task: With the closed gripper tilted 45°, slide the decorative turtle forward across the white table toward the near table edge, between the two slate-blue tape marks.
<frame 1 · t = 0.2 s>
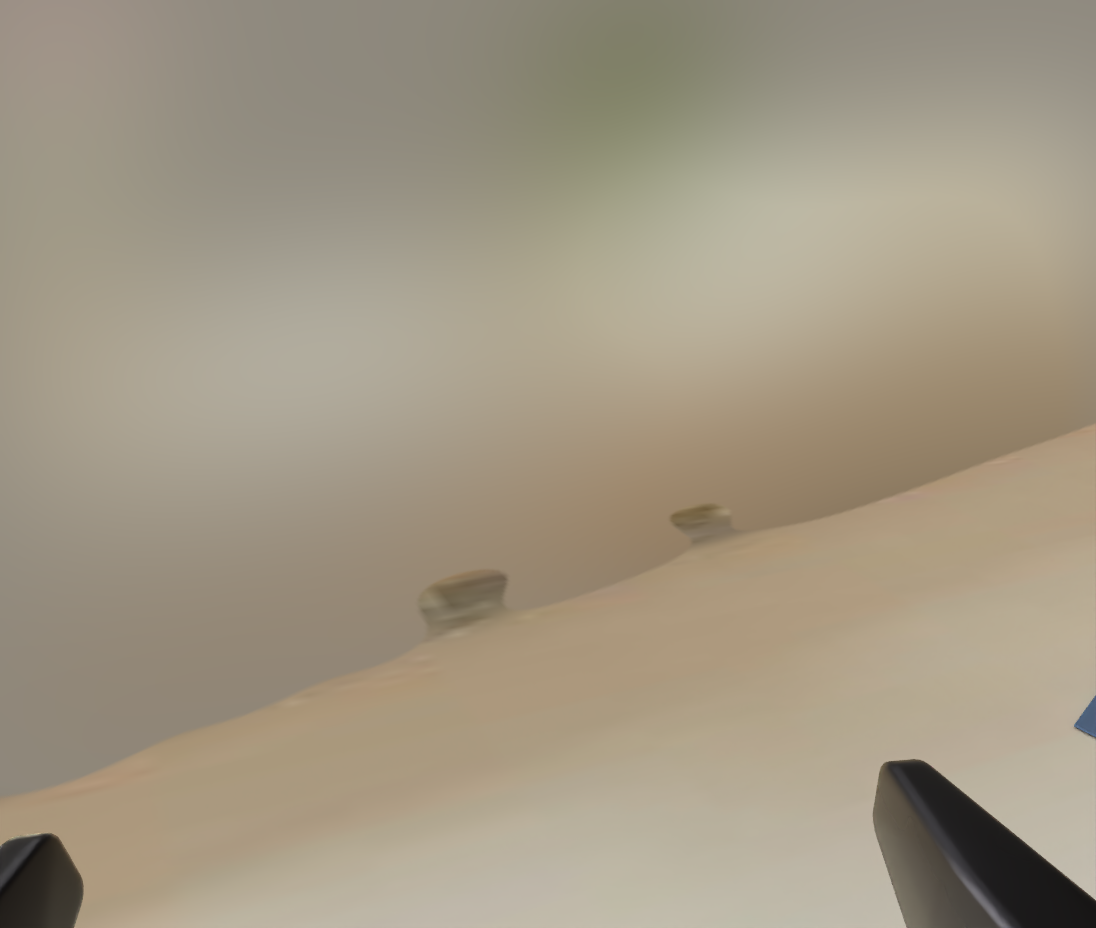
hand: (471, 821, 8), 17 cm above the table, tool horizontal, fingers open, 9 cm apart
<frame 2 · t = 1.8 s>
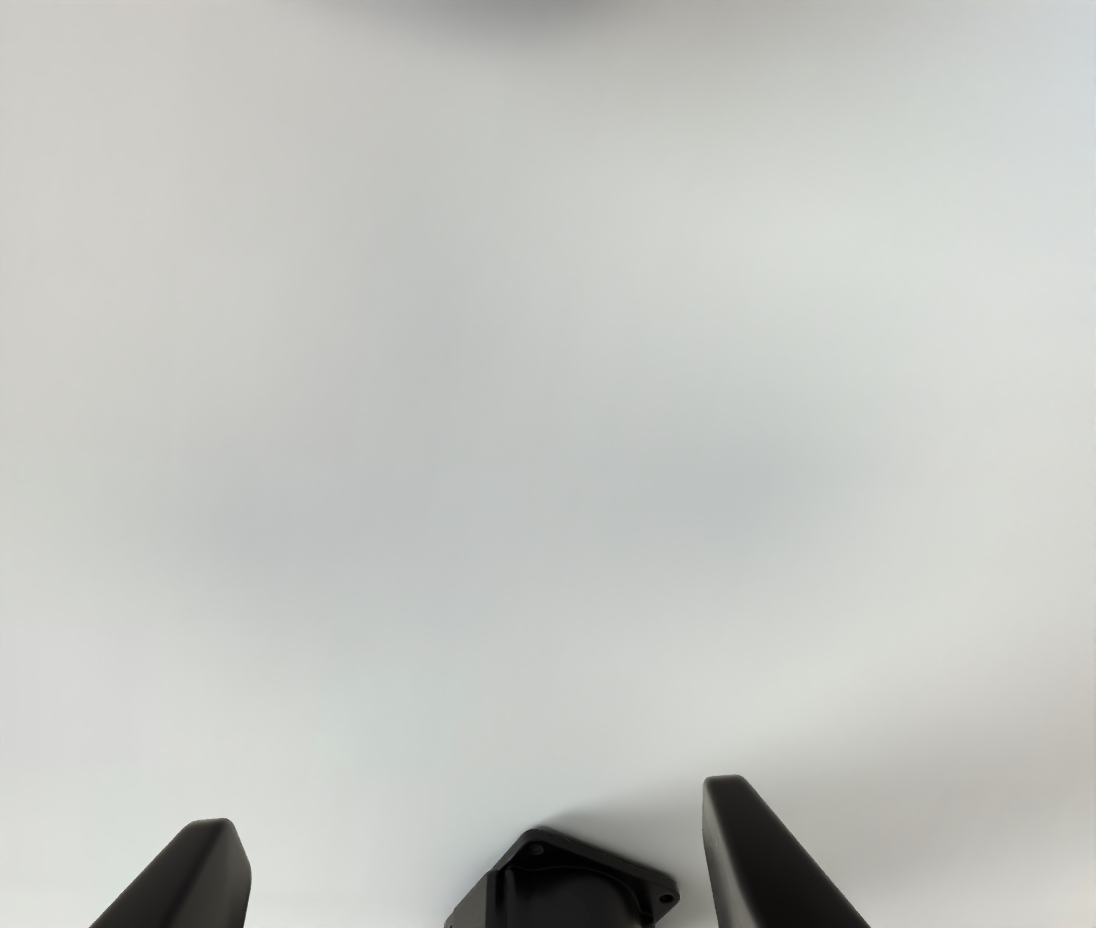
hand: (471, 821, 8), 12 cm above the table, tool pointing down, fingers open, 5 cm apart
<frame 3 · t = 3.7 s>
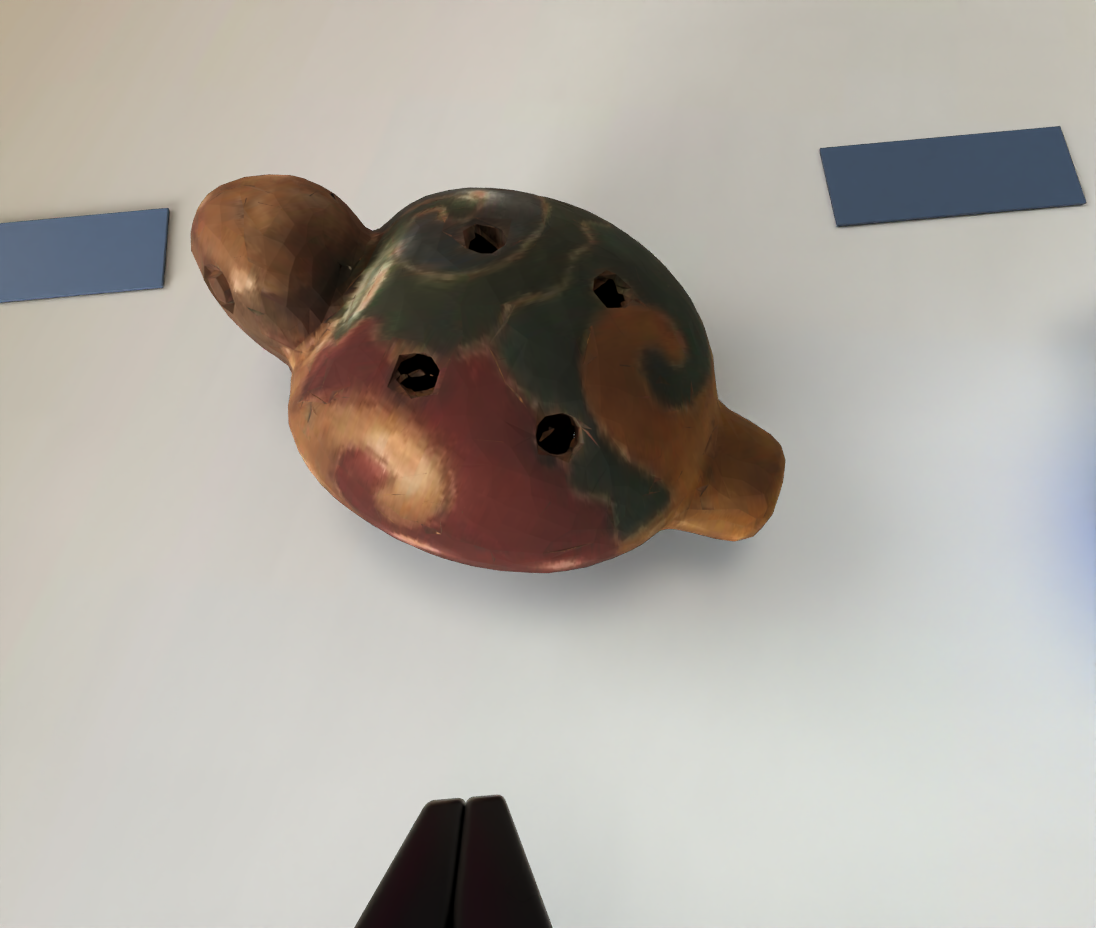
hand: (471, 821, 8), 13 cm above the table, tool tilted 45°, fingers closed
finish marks: (495, 217, 25), on the table
decorative turtle: (510, 429, 23), on the table
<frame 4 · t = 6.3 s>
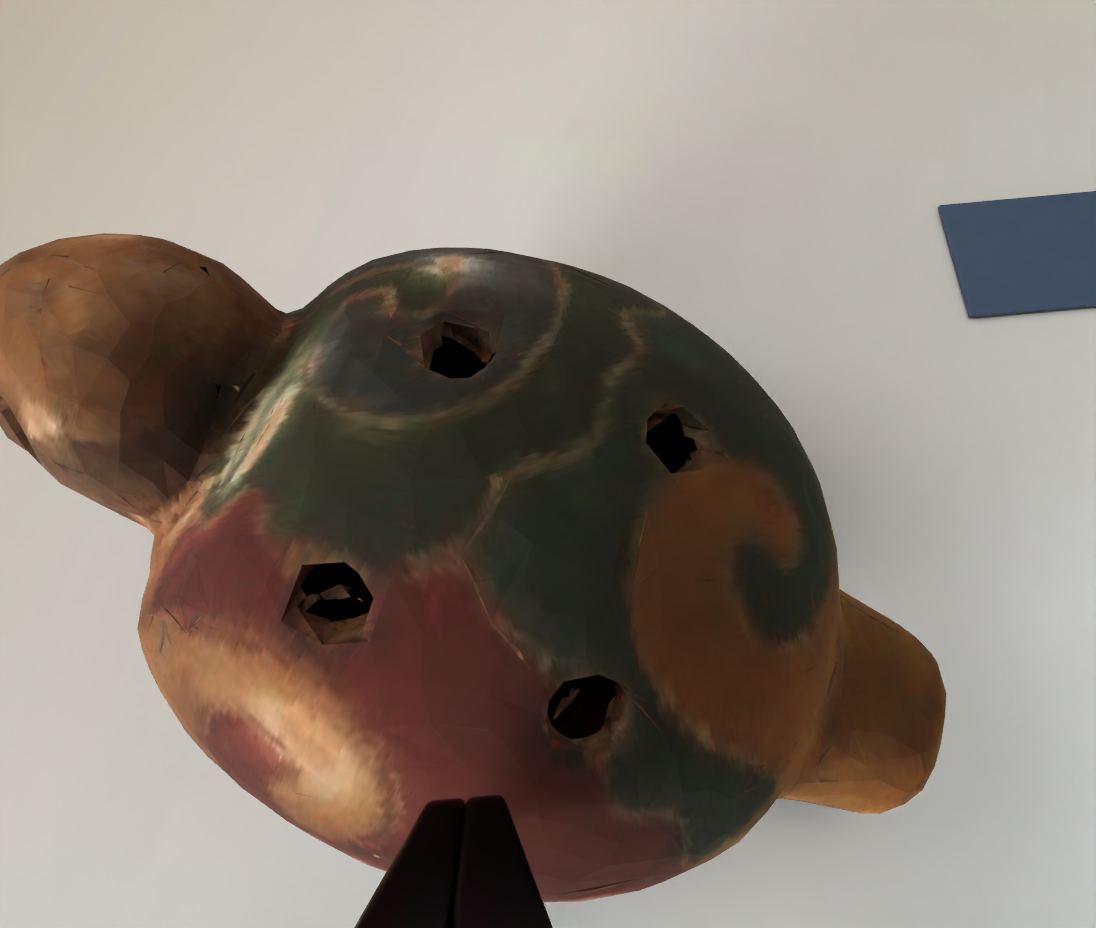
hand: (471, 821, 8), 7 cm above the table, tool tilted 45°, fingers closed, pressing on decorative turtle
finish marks: (488, 303, 18), on the table
decorative turtle: (506, 579, 16), on the table, touching gripper
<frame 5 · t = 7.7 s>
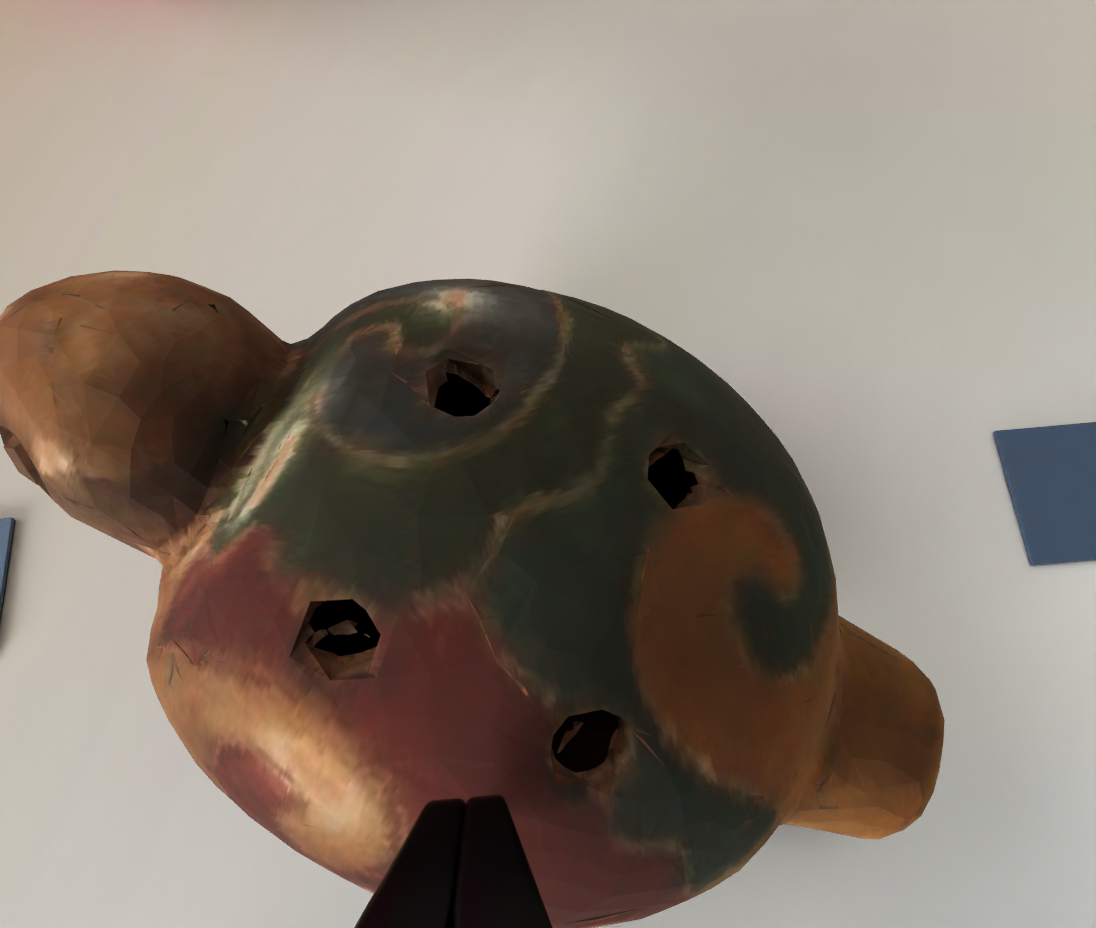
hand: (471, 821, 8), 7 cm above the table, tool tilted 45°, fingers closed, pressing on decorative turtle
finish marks: (505, 541, 17), on the table
decorative turtle: (508, 601, 16), on the table, touching gripper
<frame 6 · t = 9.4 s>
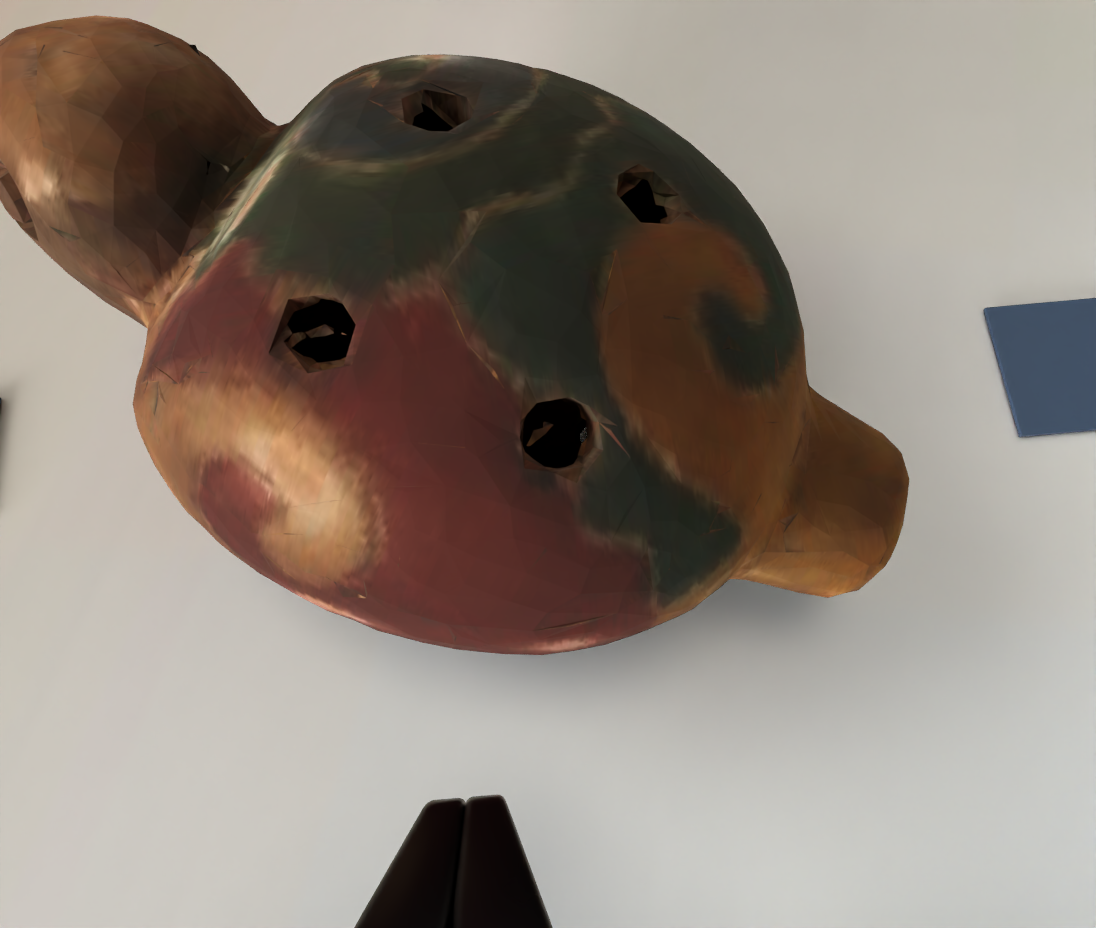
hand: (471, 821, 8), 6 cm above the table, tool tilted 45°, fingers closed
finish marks: (493, 416, 17), on the table
decorative turtle: (492, 426, 17), on the table
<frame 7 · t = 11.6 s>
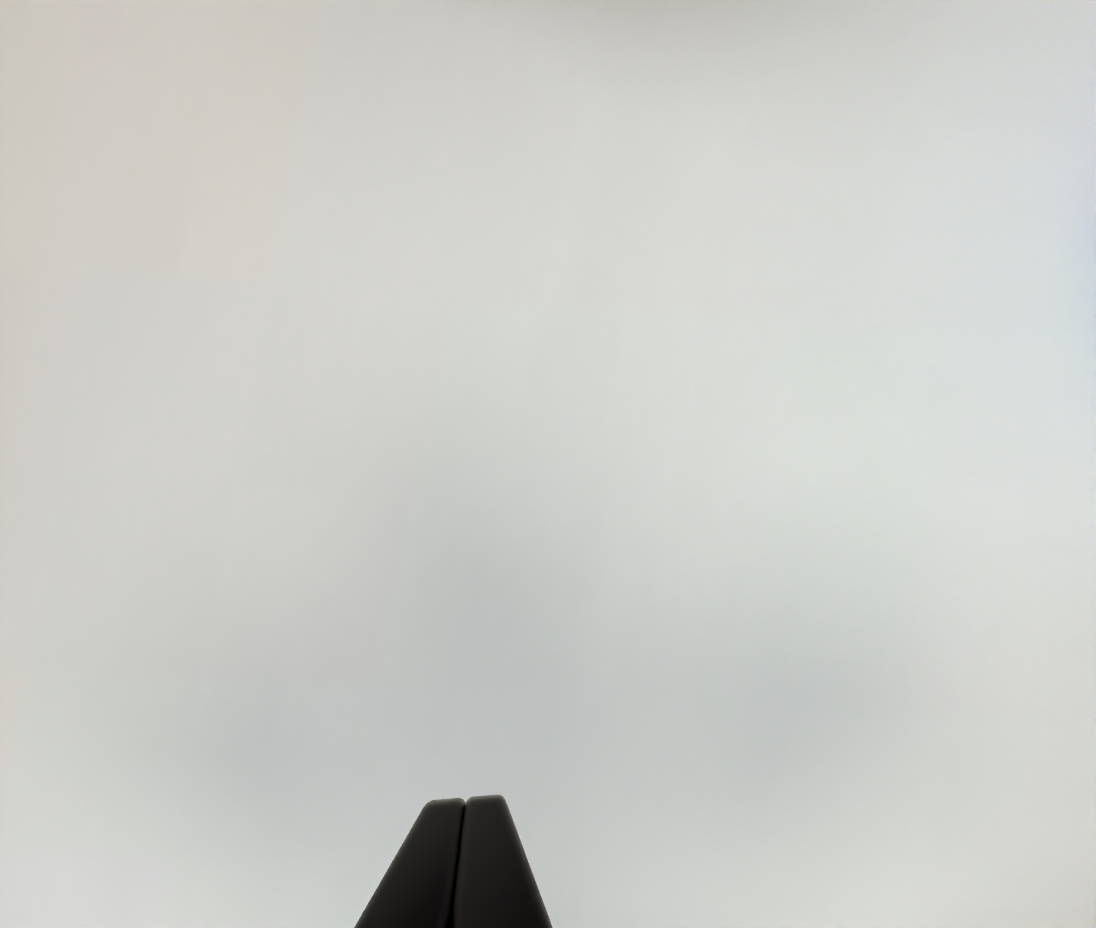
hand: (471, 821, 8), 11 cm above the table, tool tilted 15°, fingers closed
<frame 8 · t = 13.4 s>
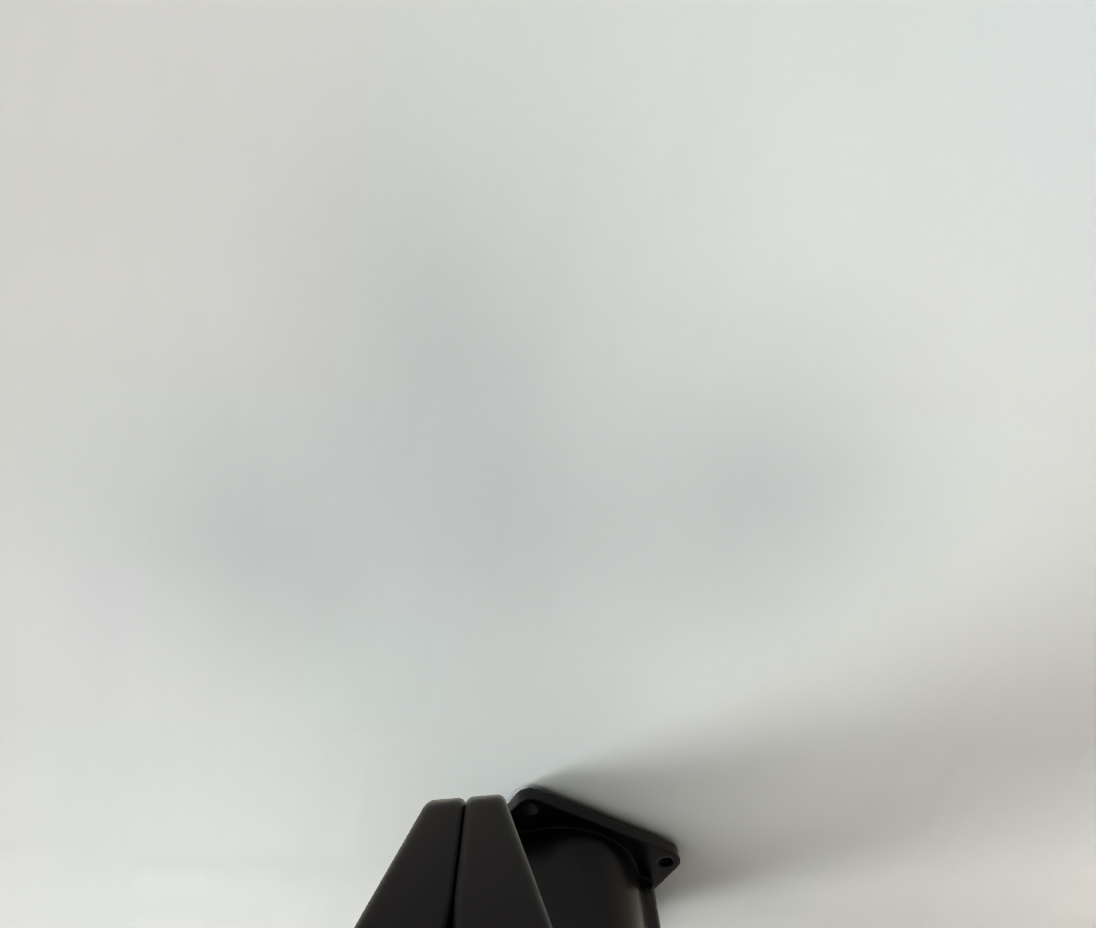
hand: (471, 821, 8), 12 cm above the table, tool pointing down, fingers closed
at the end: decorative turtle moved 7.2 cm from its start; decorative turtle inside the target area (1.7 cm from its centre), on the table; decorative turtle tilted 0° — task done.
